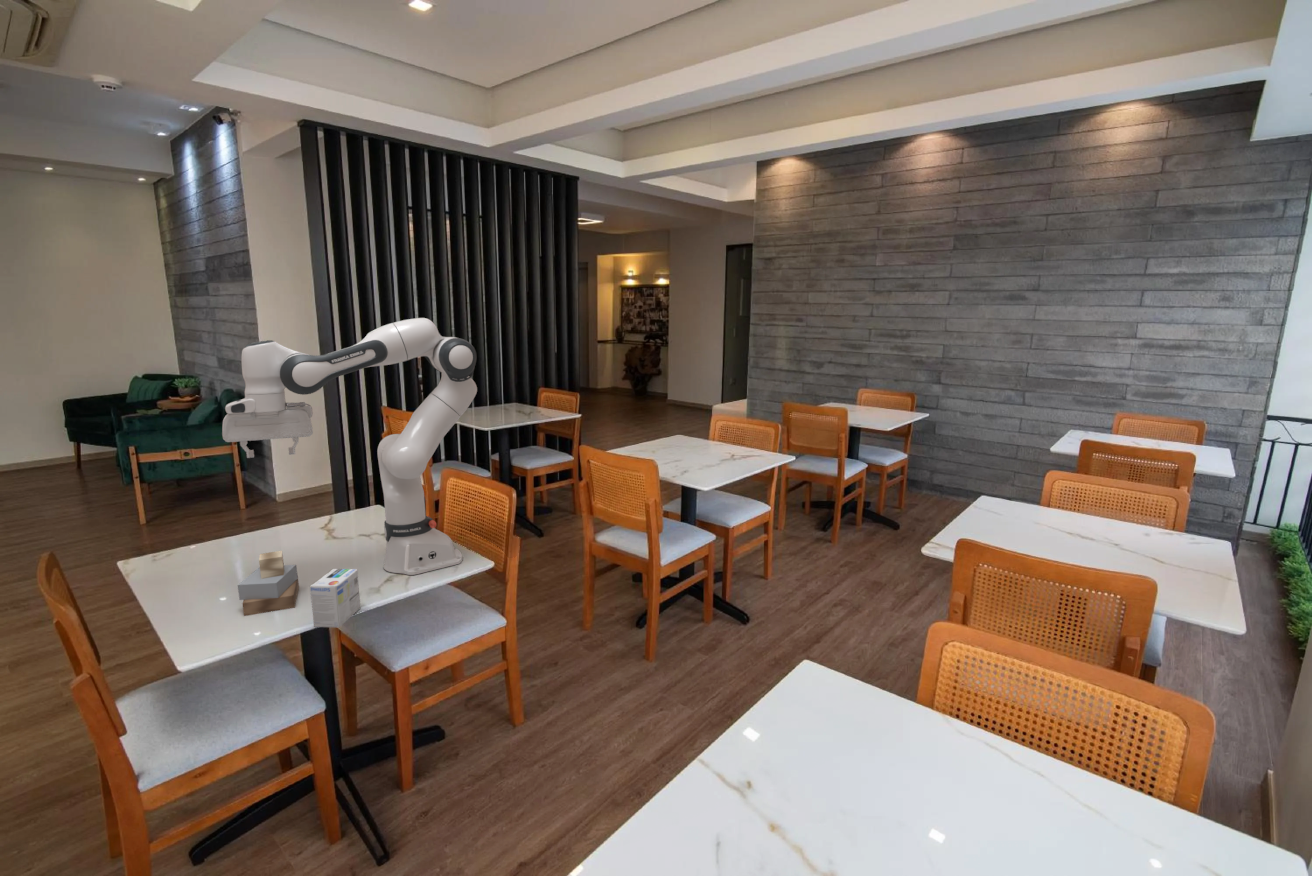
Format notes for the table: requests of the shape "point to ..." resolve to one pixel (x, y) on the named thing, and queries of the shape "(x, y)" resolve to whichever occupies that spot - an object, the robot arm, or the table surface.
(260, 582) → the slate grey block
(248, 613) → the walnut base slab
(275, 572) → the birch cube
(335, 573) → the light bulb box
